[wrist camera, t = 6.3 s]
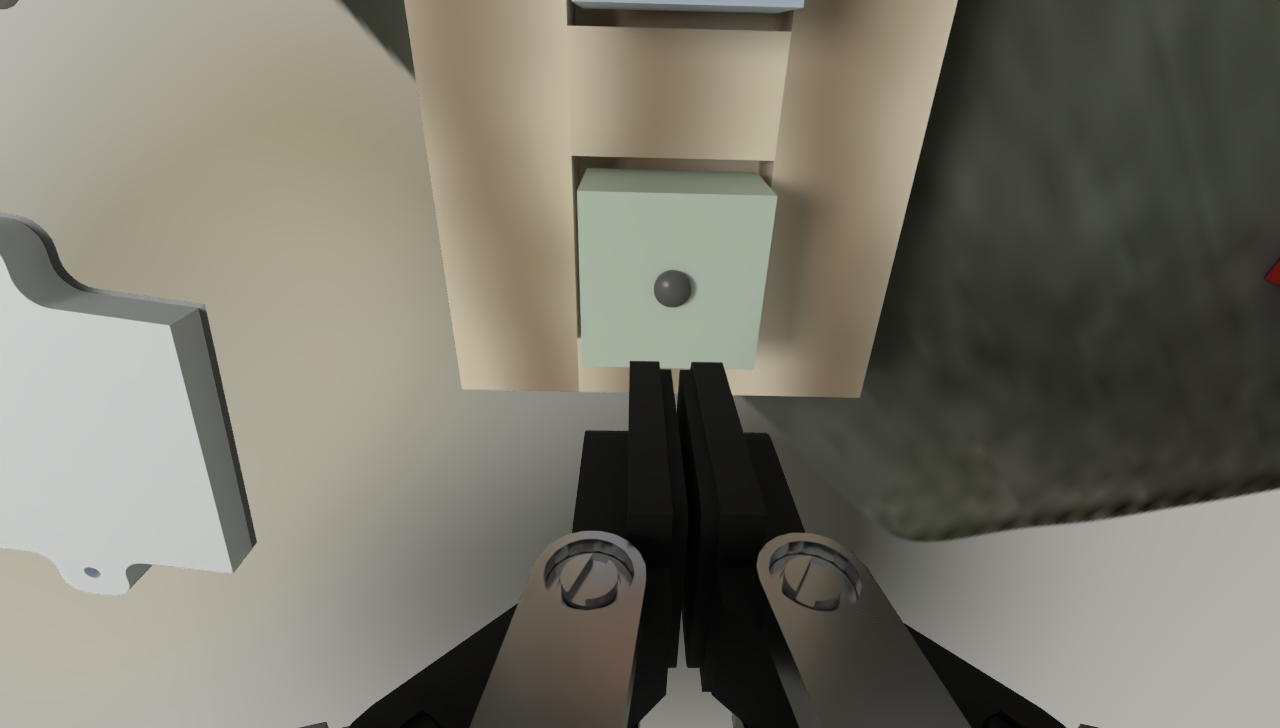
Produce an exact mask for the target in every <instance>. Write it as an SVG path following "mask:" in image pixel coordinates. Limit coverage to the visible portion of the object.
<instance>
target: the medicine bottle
mask: <svg viewBox="0 0 1280 728" xmlns="http://www.w3.org/2000/svg"><path fill="white" fill-rule="evenodd" d="M17 1H18V0H0V9H8V8H10V7H12V6H14V5H15V4H16V3H17Z"/></svg>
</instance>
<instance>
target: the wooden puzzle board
mask: <svg viewBox="0 0 1280 728" xmlns="http://www.w3.org/2000/svg"><path fill="white" fill-rule="evenodd" d="M404 2H405V9H406V16H407V23H408V29H409V36H410V43H411V49H412V56H413V63H414V70H415V76H416V83H417V90H418V97H419V103H420V110H421V117H422V124H423V130H424V136H425V144H426V150H427V157H428V164H429V170H430V178H431V184H432V191H433V198H434V205H435V211H436V218H437V224H438V231H439V238H440V245H441V252H442V258H443V265H444V272H445V279H446V285H447V292H448V299H449V306H450V312H451V319H452V326H453V332H454V339H455V345H456V353H457V360H458V366H459V373H460V380H461V387H462V389H465V390H513V391H514V390H515V391H562V392H563V391H564V392H611V393H629V373H630V367H593V366H582V346H581V312H580V277H579V243H578V208H577V190H578V187H579V185H580V183H581V181H582V178H583V176H584V174H585V171H586V169H587V168H602V169H643V170H683V171H724V172H757V173H758V175H759V176H760V177H761V178H762V179H763V180H764V181H765V182H766V184H767V185H768V186H769V187H770V188H771V189H772V190H773V191H774V192H775V194H776V195H777V203H776V211H775V218H774V225H773V232H772V240H771V247H770V254H769V262H768V269H767V276H766V283H765V291H764V298H763V305H762V313H761V320H760V327H759V334H758V342H757V349H756V356H755V364H754V370H736V369H725V373H726V376H727V379H728V383H729V386H730V389H731V393H732V395H757V396H805V397H854V398H860V395H861V391H862V387H863V383H864V378H865V374H866V370H867V366H868V362H869V358H870V354H871V350H872V346H873V342H874V338H875V334H876V330H877V326H878V322H879V318H880V314H881V310H882V306H883V302H884V297H885V293H886V289H887V285H888V281H889V277H890V273H891V269H892V265H893V261H894V257H895V253H896V249H897V245H898V241H899V237H900V233H901V229H902V225H903V220H904V216H905V212H906V208H907V204H908V200H909V196H910V192H911V188H912V184H913V180H914V176H915V172H916V168H917V164H918V160H919V156H920V152H921V148H922V144H923V139H924V135H925V131H926V127H927V123H928V119H929V115H930V111H931V107H932V103H933V99H934V95H935V91H936V87H937V83H938V79H939V75H940V71H941V67H942V62H943V58H944V54H945V50H946V46H947V42H948V38H949V34H950V30H951V26H952V22H953V18H954V14H955V10H956V6H957V2H958V0H804V7H803V8H800V9H795V10H791V11H786V12H781V13H777V14H762V13H726V12H689V11H653V10H617V9H583V8H582V7H580V6H578V5H577V4H575V3H574V2H572V1H571V0H404ZM660 369H671V372H672V380H673V389H674V394H678V385H679V372H680V369H681V370H690V369H688V368H660Z"/></svg>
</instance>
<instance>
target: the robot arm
mask: <svg viewBox="0 0 1280 728" xmlns="http://www.w3.org/2000/svg"><path fill="white" fill-rule="evenodd" d="M681 610H682V620H683V632H684V643H685V653H686V654H685V655H686V664H687V667H688V668H700V676H701V685H702V692H711V693H712V695H713V696H714V697H715V698H716V699H717V700H718V701H720V702H721V703H722V704H723V705H724V706H725V707H726V708H728V709H729V710H730V711H731V712H732V722H733V728H1066V727H1065V726H1064V725H1063V724H1061V723H1060V722H1059V721H1057V720H1056V719H1055V718H1053V717H1052V716H1051V715H1049V714H1048V713H1047V712H1045V711H1044V710H1043V709H1041V708H1039V707H1038V706H1037V705H1035V704H1033V703H1032V702H1030V701H1028V700H1027V699H1025V698H1024V697H1022V696H1020V695H1019V694H1017V693H1016V692H1014V691H1012V690H1011V689H1009V688H1008V687H1006V686H1004V685H1003V684H1001V683H999V682H998V681H996V680H995V679H993V678H991V677H990V676H988V675H986V674H985V673H983V672H982V671H980V670H979V669H977V668H975V667H974V666H972V665H970V664H969V663H967V662H966V661H964V660H962V659H961V658H959V657H958V656H956V655H954V654H953V653H951V652H950V651H948V650H946V649H945V648H943V647H941V646H940V645H938V644H937V643H935V642H933V641H932V640H930V639H929V638H927V637H925V636H924V635H922V634H920V633H919V632H917V631H915V630H914V629H912V628H911V627H909V626H907V625H906V624H904V623H903V622H902V620H901V619H900V617H899V616H898V614H897V613H896V611H895V609H894V608H893V606H892V605H891V603H890V602H889V600H888V599H887V597H886V596H885V594H884V593H883V591H882V589H881V588H880V586H879V585H878V584H877V582H876V580H875V579H874V577H873V576H872V574H871V573H870V571H869V570H868V568H867V567H866V566H865V564H864V563H863V562H862V561H861V560H860V559H859V558H858V556H857V555H856V554H854V553H853V552H852V551H850V550H849V549H848V548H846V547H845V546H843V545H842V544H840V543H838V542H836V541H833V540H831V539H829V538H827V537H823V536H819V535H815V534H810V533H805V531H804V528H803V525H802V523H801V520H800V517H799V514H798V512H797V509H796V506H795V503H794V501H793V498H792V495H791V493H790V490H789V487H788V484H787V481H786V479H785V476H784V473H783V470H782V468H781V465H780V462H779V459H778V457H777V454H776V451H775V448H774V446H773V443H772V440H771V438H770V436H769V434H767V433H743V430H742V427H741V424H740V420H739V417H738V413H737V410H736V406H735V403H734V400H733V396H732V393H731V389H730V386H729V383H728V379H727V376H726V373H725V369H724V366H723V363H722V362H692V363H691V367H690V370H681V369H680V372H679V385H678V401H677V413H676V405H675V398H674V389H673V380H672V372H671V369H660V363H659V361H630V373H629V431H585V436H584V443H583V452H582V459H581V466H580V475H579V482H578V490H577V498H576V506H575V513H574V521H573V529H572V534H568V535H566V536H564V537H562V538H560V539H558V540H556V541H553V542H552V543H551V544H550V545H549V546H547V547H546V548H545V549H544V550H543V551H542V552H541V553H540V555H539V556H538V558H537V560H536V562H535V563H534V565H533V567H532V569H531V572H530V575H529V578H528V580H527V582H526V585H525V587H524V590H523V592H522V595H521V598H520V600H519V603H518V604H516V605H515V606H513V607H512V608H510V609H509V610H508V611H506V612H505V613H503V614H502V615H500V616H499V617H498V618H496V619H495V620H493V621H492V622H490V623H489V624H488V625H486V626H485V627H483V628H482V629H481V630H479V631H478V632H476V633H475V634H473V635H472V636H470V637H469V638H468V639H466V640H465V641H463V642H462V643H461V644H459V645H458V646H456V647H455V648H453V649H452V650H450V651H449V652H448V653H446V654H445V655H444V656H442V657H441V658H439V659H438V660H437V661H435V662H433V663H432V664H431V665H429V666H428V667H427V668H425V669H423V670H422V671H421V672H419V673H418V674H416V675H415V676H413V677H412V678H411V679H409V680H408V681H407V682H405V683H404V684H402V685H401V686H399V687H398V688H396V689H395V690H393V691H392V692H391V693H389V694H388V695H386V696H385V697H384V698H382V699H381V700H379V701H378V702H376V703H375V704H373V705H372V706H371V707H370V708H369V709H367V710H366V711H365V712H364V713H363V714H362V715H361V716H360V717H358V718H357V719H356V720H355V721H354V722H353V723H352V724H351V725H350V726H348V727H343V728H640V721H641V720H642V719H643V717H644V716H645V715H646V714H647V713H648V712H649V711H650V710H651V709H652V708H653V707H654V706H655V705H656V704H657V703H658V702H659V701H660V700H661V699H662V698H663V697H664V696H665V695H666V686H667V672H668V668H676V666H677V655H678V643H679V631H680V619H681ZM301 728H328V725H327V722H323V723H318V724H314V725H310V726H305V727H301ZM1078 728H1097V727H1093V726H1089V725H1084V724H1080V726H1079V727H1078Z"/></svg>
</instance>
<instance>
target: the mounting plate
mask: <svg viewBox="0 0 1280 728" xmlns="http://www.w3.org/2000/svg"><path fill="white" fill-rule="evenodd" d="M256 543H257V540H256V535H255V531H254V526H253V521H252V517H251V512H250V508H249V503H248V499H247V494H246V489H245V485H244V480H243V476H242V472H241V467H240V463H239V457H238V453H237V448H236V444H235V439H234V435H233V431H232V425H231V421H230V416H229V412H228V407H227V403H226V398H225V394H224V390H223V384H222V380H221V375H220V371H219V366H218V362H217V357H216V352H215V348H214V343H213V339H212V334H211V330H210V325H209V320H208V316H207V311H206V307H205V304H200V303H193V302H186V301H179V300H172V299H165V298H159V297H152V296H145V295H137V294H131V293H124V292H117V291H110V290H103V289H97V288H92V287H88V286H86V285H84V284H82V283H80V282H79V281H77V280H76V279H74V278H73V277H72V276H71V275H70V274H69V273H68V272H67V271H66V270H65V268H64V267H63V266H62V263H61V261H60V259H59V256H58V253H57V250H56V247H55V245H54V243H53V240H52V239H51V237H50V236H49V235H48V233H47V232H46V231H45V230H44V229H43V228H42V227H40V226H39V225H38V224H37V223H35V222H34V221H32V220H30V219H28V218H26V217H23V216H19V215H14V214H7V213H1V212H0V548H6V549H15V550H25V551H31V552H35V553H38V554H41V555H43V556H45V557H47V558H48V559H49V560H51V561H52V562H53V563H54V564H55V565H56V566H57V568H58V570H59V572H60V574H61V576H62V578H63V579H64V581H65V582H67V584H69V585H70V586H72V587H74V588H76V589H78V590H80V591H83V592H88V593H97V594H105V595H123V594H125V593H127V592H128V591H129V589H131V587H132V586H133V585H134V584H135V583H136V582H137V581H138V580H139V579H140V578H141V577H142V576H143V575H144V574H145V572H146V571H147V570H148V569H149V568H150V567H151V566H152V565H160V566H169V567H179V568H188V569H197V570H206V571H215V572H224V573H234V572H235V570H236V569H237V568H238V567H239V565H240V564H241V563H242V561H243V560H244V559H245V557H246V556H247V554H249V552H250V551H251V550H252V548H253V547H254V546H255V544H256Z"/></svg>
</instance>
